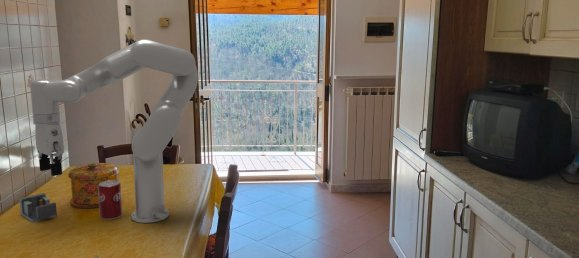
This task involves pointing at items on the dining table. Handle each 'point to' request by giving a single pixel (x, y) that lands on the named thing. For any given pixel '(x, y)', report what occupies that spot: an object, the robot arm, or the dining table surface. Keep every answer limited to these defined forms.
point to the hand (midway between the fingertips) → (51, 172)
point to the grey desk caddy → (33, 206)
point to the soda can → (110, 200)
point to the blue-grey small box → (45, 210)
